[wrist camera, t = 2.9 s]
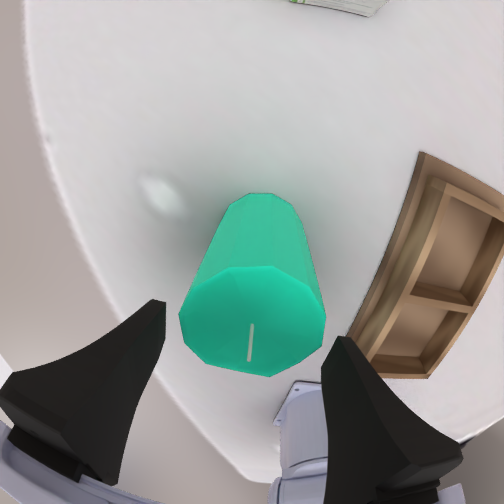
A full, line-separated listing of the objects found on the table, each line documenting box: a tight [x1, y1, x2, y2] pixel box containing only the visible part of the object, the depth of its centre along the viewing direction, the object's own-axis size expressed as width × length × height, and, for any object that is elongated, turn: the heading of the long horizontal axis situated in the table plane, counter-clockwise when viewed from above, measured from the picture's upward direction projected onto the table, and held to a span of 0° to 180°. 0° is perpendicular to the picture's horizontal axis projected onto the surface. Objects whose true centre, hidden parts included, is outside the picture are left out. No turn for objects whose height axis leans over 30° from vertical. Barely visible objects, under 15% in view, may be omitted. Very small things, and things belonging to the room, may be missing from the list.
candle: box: [179, 194, 326, 377], centre depth 15 cm, size 6×6×12 cm
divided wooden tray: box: [346, 152, 504, 379], centre depth 20 cm, size 20×10×4 cm, turn 168°
